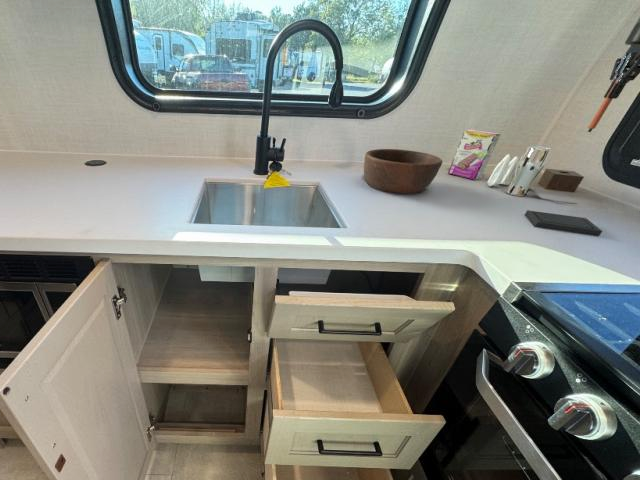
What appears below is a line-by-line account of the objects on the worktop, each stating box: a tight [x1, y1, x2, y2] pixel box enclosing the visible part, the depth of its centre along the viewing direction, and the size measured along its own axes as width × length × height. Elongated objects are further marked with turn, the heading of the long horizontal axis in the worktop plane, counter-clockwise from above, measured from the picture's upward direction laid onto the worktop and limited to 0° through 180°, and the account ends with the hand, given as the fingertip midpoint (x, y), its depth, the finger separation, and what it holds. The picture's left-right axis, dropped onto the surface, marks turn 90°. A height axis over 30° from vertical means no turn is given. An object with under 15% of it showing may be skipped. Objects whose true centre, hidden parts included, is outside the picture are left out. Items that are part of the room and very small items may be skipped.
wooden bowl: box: [363, 148, 443, 194], centre depth 113 cm, size 25×25×10 cm
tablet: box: [524, 209, 603, 237], centre depth 88 cm, size 14×10×2 cm
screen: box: [534, 211, 594, 229], centre depth 88 cm, size 11×8×1 cm
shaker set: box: [487, 153, 519, 187], centre depth 116 cm, size 12×4×11 cm, turn 119°
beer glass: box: [505, 145, 554, 197], centre depth 107 cm, size 7×7×15 cm
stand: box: [537, 168, 585, 193], centre depth 111 cm, size 8×8×7 cm
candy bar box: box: [447, 129, 502, 181], centre depth 124 cm, size 11×5×16 cm, turn 34°
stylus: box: [587, 78, 618, 133], centre depth 95 cm, size 2×2×14 cm
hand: (610, 98), depth 94 cm, fingers closed on stylus, 1 cm apart
